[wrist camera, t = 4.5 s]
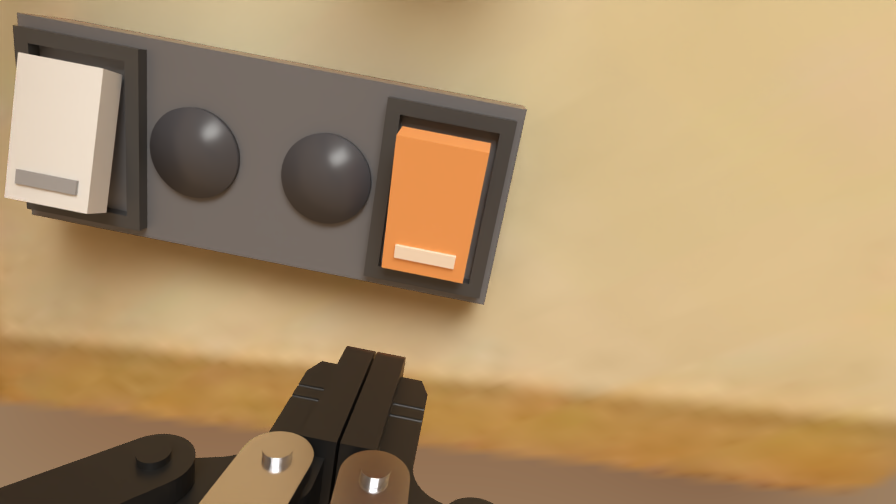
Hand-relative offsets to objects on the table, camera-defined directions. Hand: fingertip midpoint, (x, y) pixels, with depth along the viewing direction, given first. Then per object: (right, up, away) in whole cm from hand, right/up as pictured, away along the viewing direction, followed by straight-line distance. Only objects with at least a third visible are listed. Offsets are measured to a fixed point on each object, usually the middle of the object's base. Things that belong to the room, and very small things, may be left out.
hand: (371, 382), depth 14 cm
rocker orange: (+1, +5, +9) cm, 10 cm away
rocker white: (-14, +8, +9) cm, 19 cm away
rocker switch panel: (-6, +8, +13) cm, 17 cm away
